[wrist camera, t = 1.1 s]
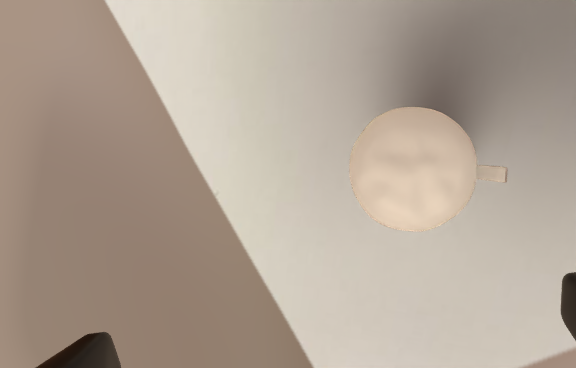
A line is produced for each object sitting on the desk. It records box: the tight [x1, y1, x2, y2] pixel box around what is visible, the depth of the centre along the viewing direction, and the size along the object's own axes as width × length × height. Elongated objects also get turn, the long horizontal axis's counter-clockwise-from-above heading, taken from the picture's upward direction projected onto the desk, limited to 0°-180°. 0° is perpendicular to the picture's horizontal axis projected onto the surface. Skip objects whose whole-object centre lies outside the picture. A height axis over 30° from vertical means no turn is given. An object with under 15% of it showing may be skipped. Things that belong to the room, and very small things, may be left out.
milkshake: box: [349, 107, 508, 231], centre depth 18 cm, size 4×5×10 cm
